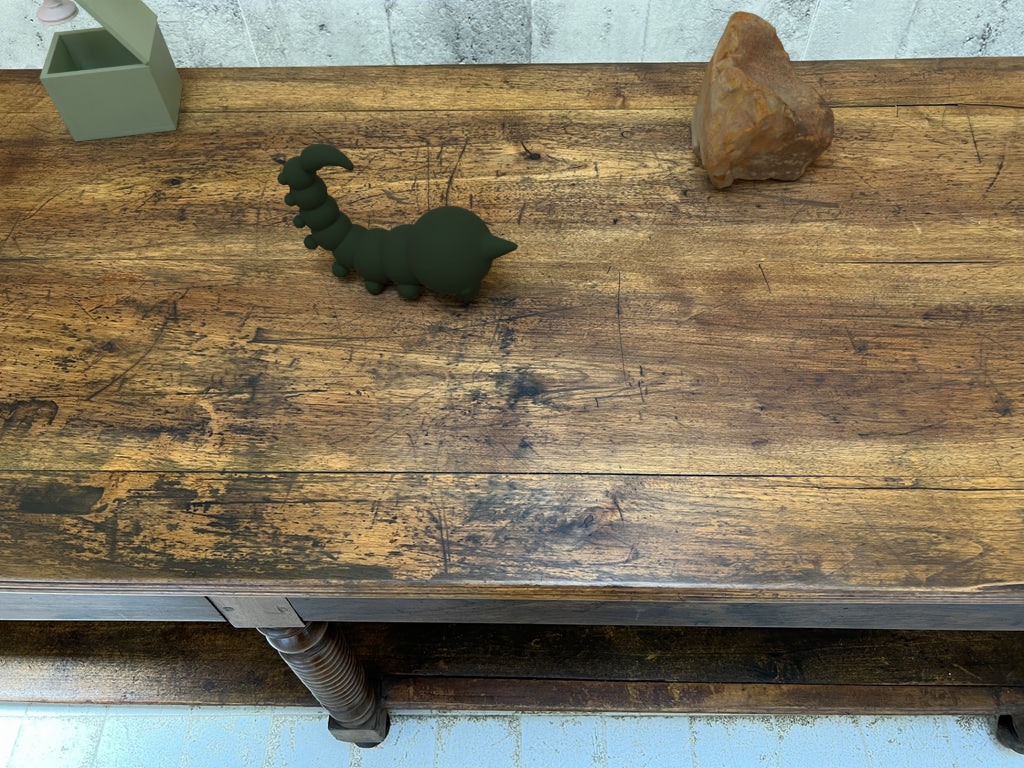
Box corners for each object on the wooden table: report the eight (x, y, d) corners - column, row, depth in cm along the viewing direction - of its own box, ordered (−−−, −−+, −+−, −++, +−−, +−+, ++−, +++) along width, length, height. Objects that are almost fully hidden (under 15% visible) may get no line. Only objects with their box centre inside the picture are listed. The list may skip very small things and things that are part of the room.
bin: (75, 142, 111) (39, 78, 103) (87, 95, 118) (54, 32, 110) (176, 130, 112) (148, 66, 104) (183, 84, 118) (157, 21, 110)
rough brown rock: (815, 234, 98) (866, 129, 86) (678, 208, 99) (710, 102, 87) (812, 119, 112) (856, 15, 100) (692, 98, 113) (721, -7, 101)
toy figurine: (310, 302, 95) (514, 332, 89) (250, 172, 80) (490, 196, 74) (341, 246, 101) (537, 270, 94) (290, 114, 86) (518, 132, 79)
